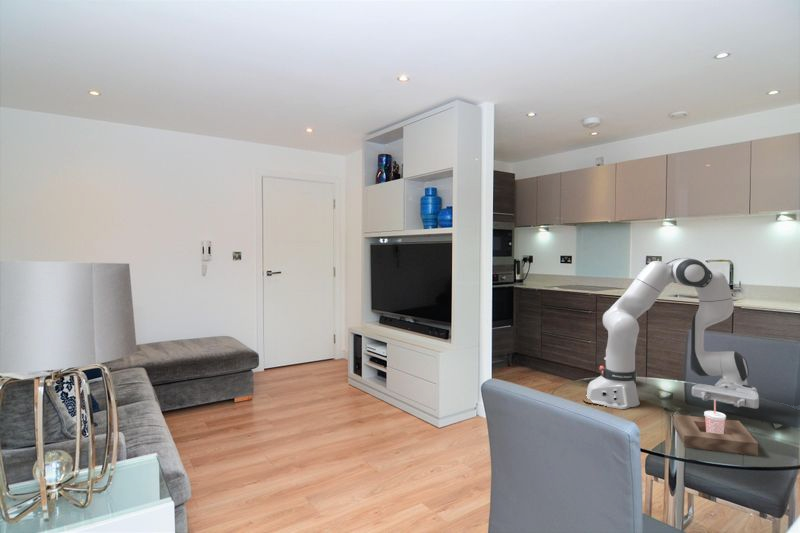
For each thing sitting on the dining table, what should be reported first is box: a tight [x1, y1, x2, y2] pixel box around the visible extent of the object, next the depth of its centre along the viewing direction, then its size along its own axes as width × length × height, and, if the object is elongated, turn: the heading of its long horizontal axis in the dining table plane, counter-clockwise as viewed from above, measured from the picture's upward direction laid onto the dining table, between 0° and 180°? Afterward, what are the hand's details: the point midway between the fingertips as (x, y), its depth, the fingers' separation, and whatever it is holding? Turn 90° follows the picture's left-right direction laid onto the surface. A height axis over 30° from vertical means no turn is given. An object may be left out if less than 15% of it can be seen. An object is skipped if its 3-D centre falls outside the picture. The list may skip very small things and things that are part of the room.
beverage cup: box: [703, 400, 727, 434], centre depth 150 cm, size 6×6×14 cm
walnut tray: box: [672, 414, 759, 457], centre depth 151 cm, size 20×18×4 cm
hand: (720, 401), depth 159 cm, fingers open, 8 cm apart
